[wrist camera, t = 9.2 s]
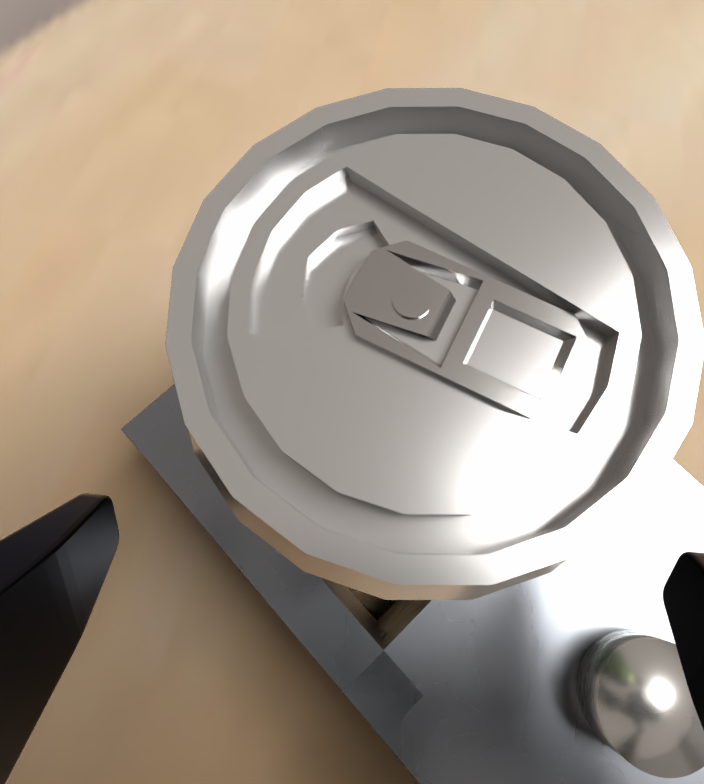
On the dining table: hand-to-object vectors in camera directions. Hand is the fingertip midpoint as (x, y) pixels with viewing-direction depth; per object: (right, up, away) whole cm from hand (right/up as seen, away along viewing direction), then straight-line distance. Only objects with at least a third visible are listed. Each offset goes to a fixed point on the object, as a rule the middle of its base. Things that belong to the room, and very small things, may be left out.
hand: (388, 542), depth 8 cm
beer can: (0, 0, +8) cm, 8 cm away
